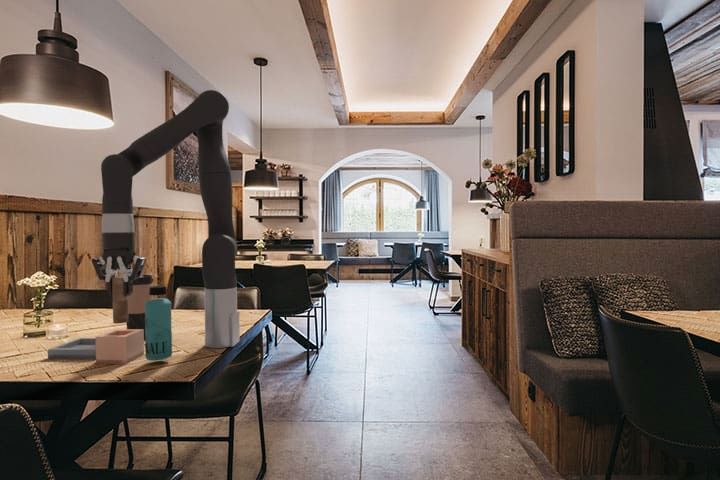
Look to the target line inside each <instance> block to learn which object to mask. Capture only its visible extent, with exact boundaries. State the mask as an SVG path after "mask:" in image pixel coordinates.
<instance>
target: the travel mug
mask: <svg viewBox="0 0 720 480" xmlns="http://www.w3.org/2000/svg"><path fill="white" fill-rule="evenodd" d="M153 284H154V283H153V275H151V274H143V275H142V274H141V276H140V278H138V279H135V280H133V292H132V293H131V295H129V296H128V322H126V323H125V324H126V329H144V341H145V322H144V319H145V304H146V302H147V301H149V300H150V299H154V295H149V292H150V287H153Z"/></svg>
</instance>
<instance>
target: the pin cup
mask: <svg viewBox="0 0 720 480" xmlns="http://www.w3.org/2000/svg"><path fill="white" fill-rule="evenodd" d="M95 338H96V359H95V364H97V365H102V364H103V365H104V364H105V365H106V364H109V365H111V364H113V365H118V364H119V365H122V364H123V365H125V364H129V363H130V362H133V361H134V360H136V359H138V358H140V357H142V356H144V355H145V340H144V329H127V328H125V329H123V328H122V329H120V328H118V329H113V330H109V331H107V332H104V333H102V334H98V335H97V336H95Z"/></svg>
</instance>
